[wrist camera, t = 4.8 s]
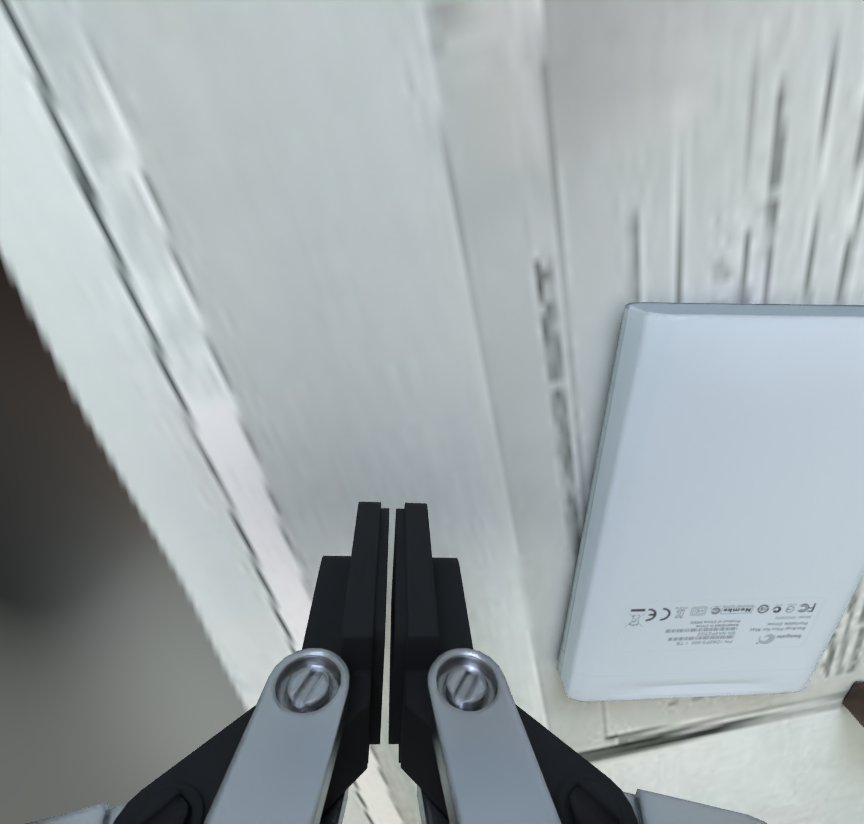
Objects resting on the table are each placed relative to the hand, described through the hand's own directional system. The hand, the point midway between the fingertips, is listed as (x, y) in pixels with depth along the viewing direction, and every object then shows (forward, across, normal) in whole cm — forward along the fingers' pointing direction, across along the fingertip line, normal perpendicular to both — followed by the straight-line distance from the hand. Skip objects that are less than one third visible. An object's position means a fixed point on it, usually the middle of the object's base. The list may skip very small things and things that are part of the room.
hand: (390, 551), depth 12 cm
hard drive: (+2, -10, 0) cm, 10 cm away
